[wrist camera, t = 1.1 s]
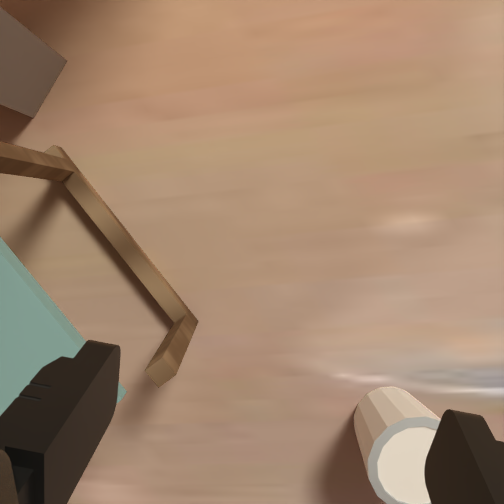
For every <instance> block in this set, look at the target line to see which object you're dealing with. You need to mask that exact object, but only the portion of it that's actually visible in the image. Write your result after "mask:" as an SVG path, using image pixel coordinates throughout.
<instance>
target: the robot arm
mask: <svg viewBox="0 0 504 504" xmlns="http://www.w3.org/2000/svg"><path fill="white" fill-rule="evenodd" d="M119 368H120V347H119V345H114V344H108V343H103V342H98V341H93V340H88V341H87V342H86V343H85V344H84V345H83V347H82V348H81V349H80V350H79V352H78V353H77V354H76V355H75V357H74V358H69V357H63V356H61V357H59V358H58V359H56V360H54V361H52V362H51V363H49V364H47V365H45V366H44V367H42V368H41V369H40V371H39V372H38V373H37V374H36V375H35V376H34V377H33V379H32V380H31V381H30V383H29V385H27V386H26V387H25V388H24V389H23V390H22V391H21V393H20V394H19V397H16V398H15V400H14V401H13V402H12V403H11V404H10V405H9V406H8V408H7V409H6V410H5V411H4V412H3V413H2V415H1V416H0V504H67V502H68V500H69V498H70V497H71V495H72V493H73V491H74V489H75V487H76V485H77V483H78V482H79V480H80V478H81V476H82V474H83V472H84V470H85V469H86V467H87V465H88V463H89V461H90V459H91V457H92V455H93V454H94V452H95V450H96V448H97V446H98V444H99V442H100V441H101V439H102V437H103V435H104V433H105V431H106V429H107V427H108V426H109V424H110V422H111V419H112V417H113V414H114V411H115V407H116V403H117V397H118V383H119ZM424 477H425V484H426V488H427V491H428V494H429V498H430V501H431V504H504V442H501V441H496V440H495V438H494V436H493V434H492V432H491V430H490V429H489V427H488V425H487V423H486V421H485V419H484V418H483V417H482V416H480V415H476V414H471V413H465V412H460V411H455V410H450V409H449V410H446V411H445V412H444V414H443V416H442V418H441V421H440V423H439V426H438V429H437V431H436V434H435V436H434V439H433V441H432V444H431V447H430V449H429V452H428V454H427V457H426V461H425V468H424Z"/></svg>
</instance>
